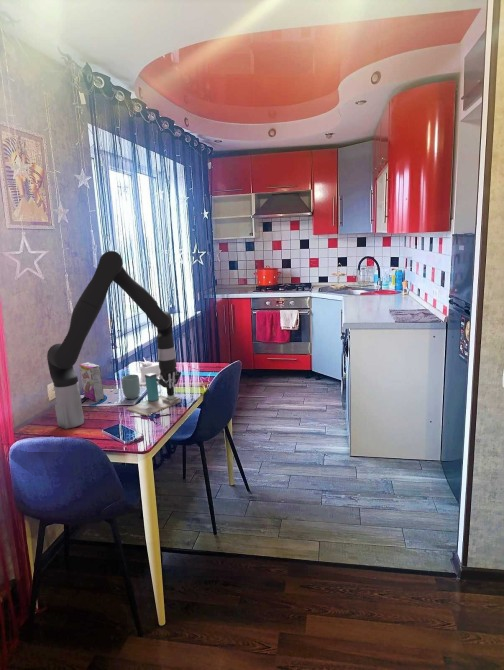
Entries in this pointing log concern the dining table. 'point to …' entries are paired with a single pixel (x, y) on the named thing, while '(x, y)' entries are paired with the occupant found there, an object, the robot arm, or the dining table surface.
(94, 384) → the candy bar box
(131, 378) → the cup
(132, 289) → the robot arm
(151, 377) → the teal rectangular block
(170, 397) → the button
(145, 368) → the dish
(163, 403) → the clipboard
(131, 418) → the dining table surface
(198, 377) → the dining table surface
